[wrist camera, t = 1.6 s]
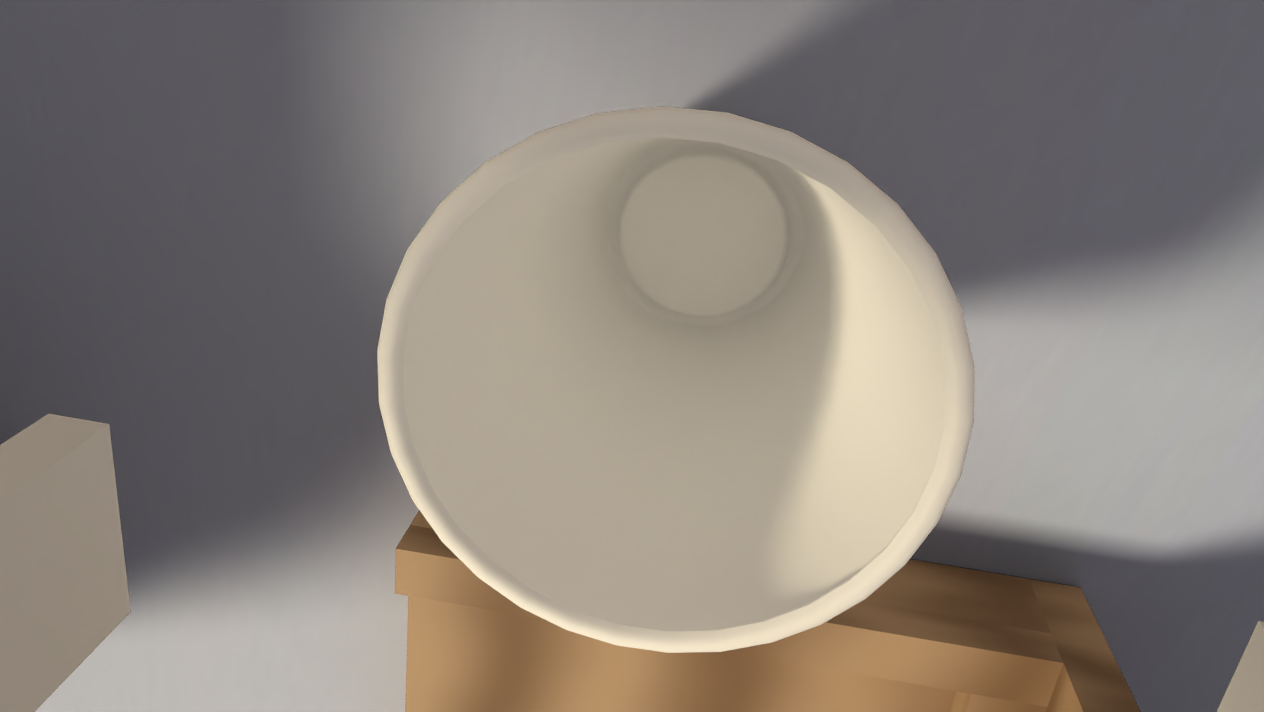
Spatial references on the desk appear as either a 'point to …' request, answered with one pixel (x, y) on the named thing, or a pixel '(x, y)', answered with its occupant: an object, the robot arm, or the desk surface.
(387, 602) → the desk surface
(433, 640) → the bracket shelf
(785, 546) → the cup
